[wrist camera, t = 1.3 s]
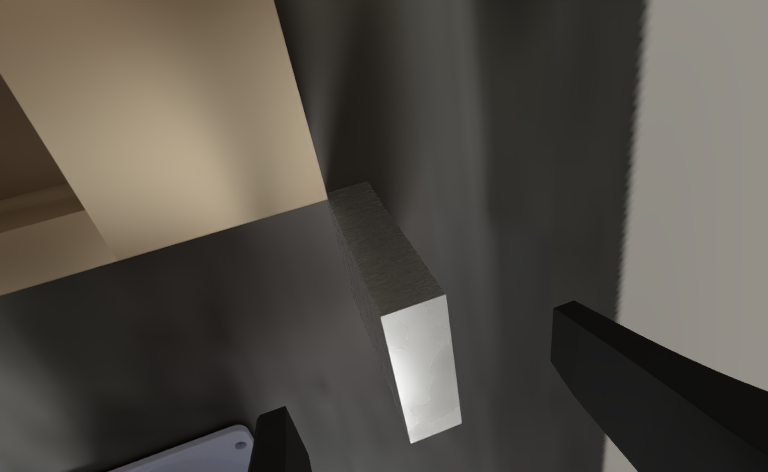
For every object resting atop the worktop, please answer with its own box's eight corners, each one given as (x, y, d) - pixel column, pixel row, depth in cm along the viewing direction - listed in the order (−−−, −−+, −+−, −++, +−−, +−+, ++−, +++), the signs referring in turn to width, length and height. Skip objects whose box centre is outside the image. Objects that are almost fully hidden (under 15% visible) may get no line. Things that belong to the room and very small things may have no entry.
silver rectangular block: (389, 286, 19) (461, 423, 13) (353, 298, 18) (410, 443, 13) (367, 181, 16) (445, 294, 10) (324, 193, 16) (380, 317, 10)
